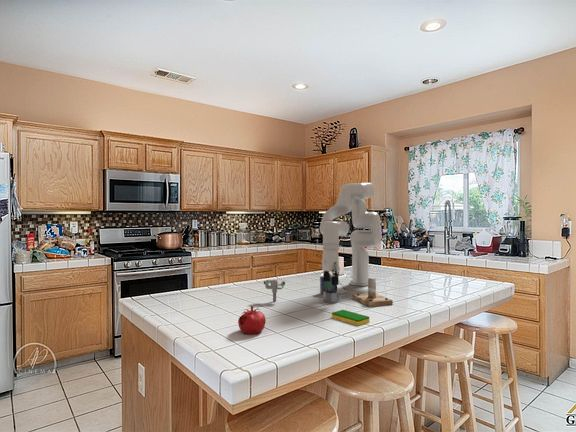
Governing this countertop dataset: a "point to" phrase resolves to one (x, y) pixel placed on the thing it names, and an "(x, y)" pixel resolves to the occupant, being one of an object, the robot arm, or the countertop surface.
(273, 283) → the mechanical component
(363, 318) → the dish sponge
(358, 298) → the shaft block
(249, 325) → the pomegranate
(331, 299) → the grey hollow octagonal piece
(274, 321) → the countertop surface
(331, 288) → the flask
